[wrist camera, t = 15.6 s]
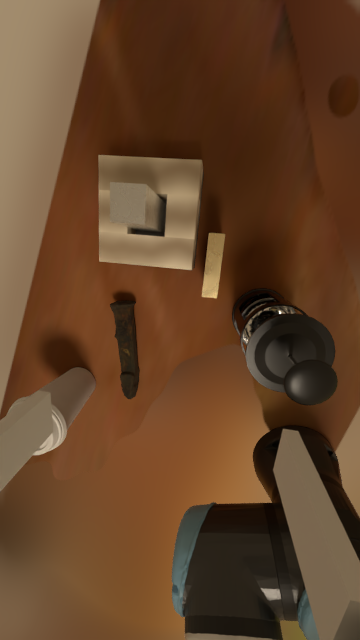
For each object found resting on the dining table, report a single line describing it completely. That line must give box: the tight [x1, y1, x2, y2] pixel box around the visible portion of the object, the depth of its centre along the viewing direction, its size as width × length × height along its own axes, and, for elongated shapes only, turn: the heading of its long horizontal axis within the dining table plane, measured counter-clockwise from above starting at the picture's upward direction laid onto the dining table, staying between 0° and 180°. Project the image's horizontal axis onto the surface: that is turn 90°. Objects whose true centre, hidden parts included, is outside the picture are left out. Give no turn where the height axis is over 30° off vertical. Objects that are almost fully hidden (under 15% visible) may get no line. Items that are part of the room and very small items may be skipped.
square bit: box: [110, 182, 167, 233], centre depth 32 cm, size 4×4×12 cm
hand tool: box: [110, 301, 140, 399], centre depth 45 cm, size 19×4×5 cm, turn 0°
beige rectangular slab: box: [202, 233, 225, 298], centre depth 36 cm, size 8×2×10 cm, turn 175°
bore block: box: [98, 155, 204, 270], centre depth 37 cm, size 14×14×6 cm
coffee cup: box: [7, 367, 96, 455], centre depth 43 cm, size 10×10×15 cm
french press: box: [232, 288, 337, 405], centre depth 31 cm, size 12×9×23 cm
